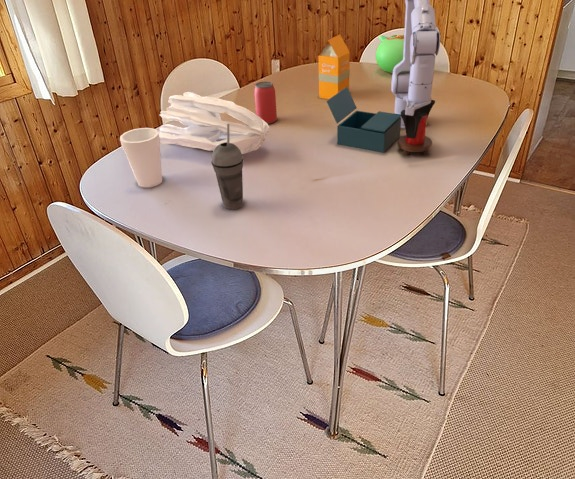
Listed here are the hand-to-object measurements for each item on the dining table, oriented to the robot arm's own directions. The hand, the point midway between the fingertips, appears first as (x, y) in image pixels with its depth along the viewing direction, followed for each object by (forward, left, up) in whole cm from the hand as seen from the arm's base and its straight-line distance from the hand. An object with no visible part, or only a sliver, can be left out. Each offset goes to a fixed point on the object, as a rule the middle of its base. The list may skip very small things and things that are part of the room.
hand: (415, 132), depth 132 cm
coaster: (0, 0, -6) cm, 6 cm away
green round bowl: (-27, -69, -6) cm, 74 cm away
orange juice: (+5, -53, -6) cm, 53 cm away
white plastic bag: (+53, -22, -6) cm, 58 cm away
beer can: (+33, -38, -6) cm, 51 cm away
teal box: (+9, -11, -6) cm, 15 cm away
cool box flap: (+14, -17, +4) cm, 23 cm away
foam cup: (+71, -8, -6) cm, 72 cm away
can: (0, 0, -2) cm, 2 cm away
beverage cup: (+52, +11, -6) cm, 53 cm away
